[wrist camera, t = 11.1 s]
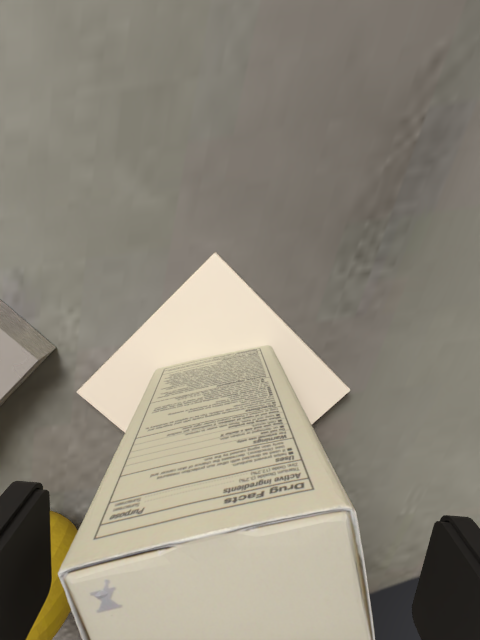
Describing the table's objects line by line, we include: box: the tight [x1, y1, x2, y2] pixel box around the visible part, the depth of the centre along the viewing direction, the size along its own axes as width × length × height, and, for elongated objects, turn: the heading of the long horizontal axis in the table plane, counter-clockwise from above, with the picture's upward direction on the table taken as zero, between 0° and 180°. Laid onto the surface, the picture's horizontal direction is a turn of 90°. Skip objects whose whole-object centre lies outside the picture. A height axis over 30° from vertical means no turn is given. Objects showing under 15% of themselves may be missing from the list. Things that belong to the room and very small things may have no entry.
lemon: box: [26, 511, 78, 640], centre depth 18 cm, size 6×6×8 cm
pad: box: [77, 252, 350, 432], centre depth 20 cm, size 10×10×1 cm
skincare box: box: [58, 345, 375, 640], centre depth 14 cm, size 6×4×12 cm
